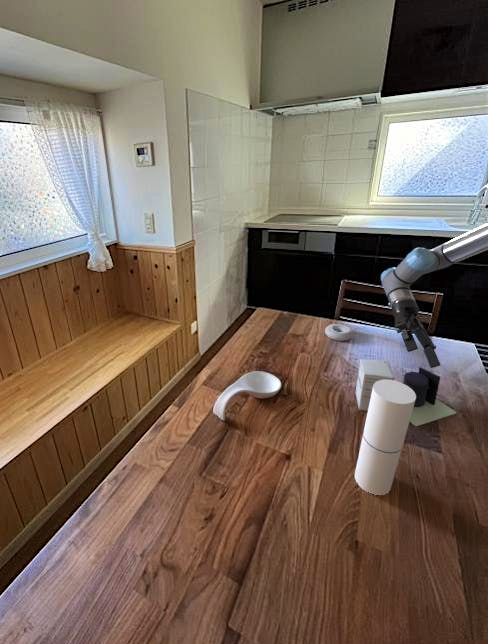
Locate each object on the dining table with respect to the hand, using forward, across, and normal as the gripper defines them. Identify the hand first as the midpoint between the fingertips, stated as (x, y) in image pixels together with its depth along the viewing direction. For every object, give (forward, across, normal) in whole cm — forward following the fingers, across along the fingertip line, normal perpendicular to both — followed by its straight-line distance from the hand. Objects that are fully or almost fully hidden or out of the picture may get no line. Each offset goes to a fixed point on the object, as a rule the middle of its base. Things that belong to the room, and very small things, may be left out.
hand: (424, 358), depth 103 cm
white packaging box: (+15, +14, -13) cm, 24 cm away
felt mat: (+14, +5, -5) cm, 16 cm away
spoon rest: (+16, +40, -37) cm, 56 cm away
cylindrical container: (+39, +27, -11) cm, 48 cm away
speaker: (+14, +5, -5) cm, 16 cm away
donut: (-20, +2, -25) cm, 32 cm away
